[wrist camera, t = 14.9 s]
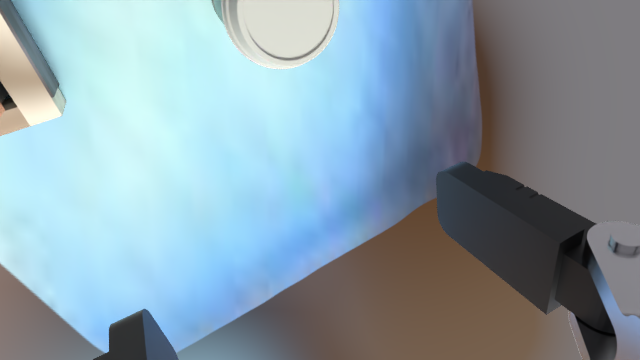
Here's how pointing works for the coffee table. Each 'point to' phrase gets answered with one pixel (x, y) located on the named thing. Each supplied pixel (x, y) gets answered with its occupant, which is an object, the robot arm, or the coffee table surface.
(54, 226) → the coffee table surface
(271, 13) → the coffee cup
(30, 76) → the rail
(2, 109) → the pinkish brown rectangular block
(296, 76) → the coffee table surface
